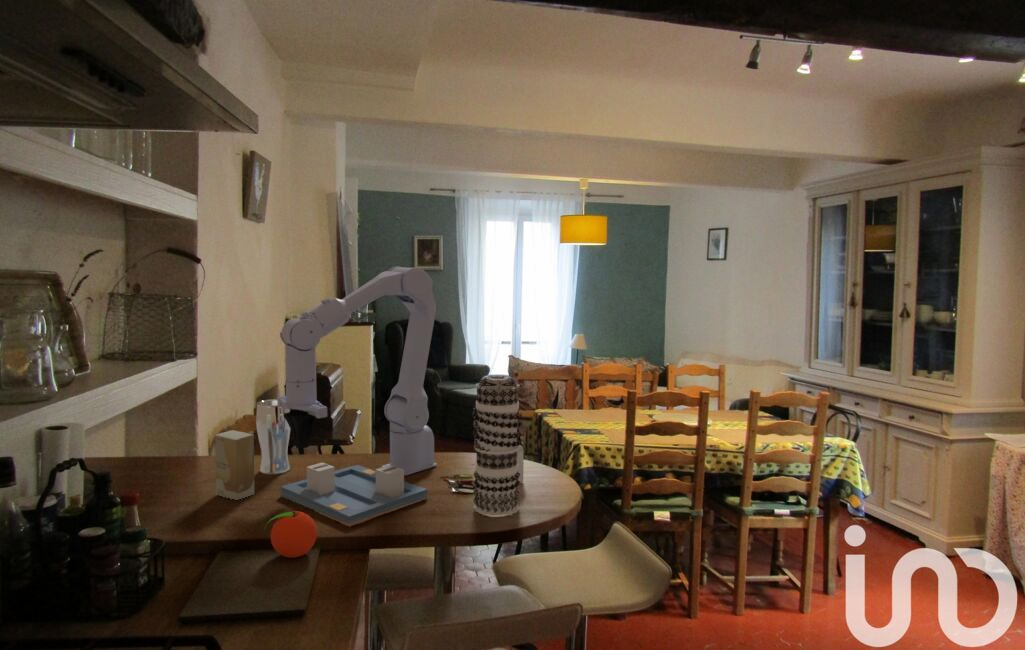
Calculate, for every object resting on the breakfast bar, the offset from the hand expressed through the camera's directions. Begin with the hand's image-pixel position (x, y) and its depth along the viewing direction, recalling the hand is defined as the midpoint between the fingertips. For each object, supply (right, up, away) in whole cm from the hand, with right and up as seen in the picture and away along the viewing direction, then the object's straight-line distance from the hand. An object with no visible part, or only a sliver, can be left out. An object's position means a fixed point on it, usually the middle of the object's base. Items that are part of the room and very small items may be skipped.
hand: (302, 447), depth 134 cm
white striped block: (+5, -8, -3) cm, 10 cm away
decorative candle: (+39, -10, -8) cm, 41 cm away
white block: (+18, -8, -4) cm, 20 cm away
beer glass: (-10, -7, +13) cm, 18 cm away
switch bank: (+11, -9, -3) cm, 15 cm away
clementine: (+7, -12, -28) cm, 31 cm away
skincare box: (-12, -9, -2) cm, 15 cm away
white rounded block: (+41, -9, +6) cm, 42 cm away
